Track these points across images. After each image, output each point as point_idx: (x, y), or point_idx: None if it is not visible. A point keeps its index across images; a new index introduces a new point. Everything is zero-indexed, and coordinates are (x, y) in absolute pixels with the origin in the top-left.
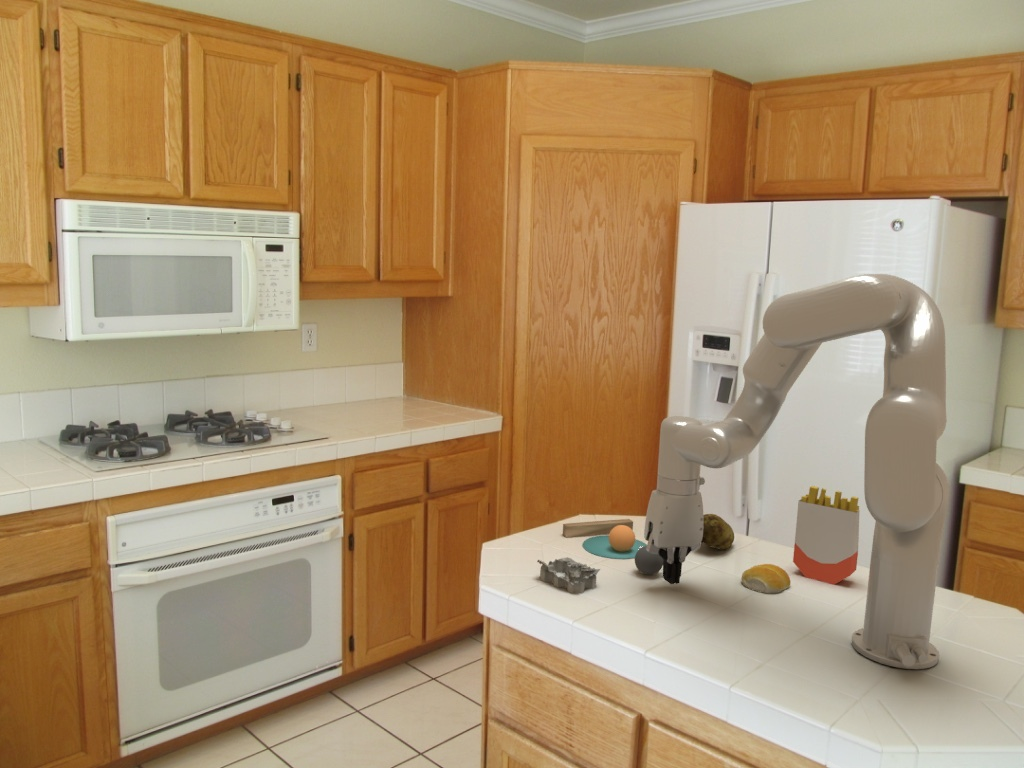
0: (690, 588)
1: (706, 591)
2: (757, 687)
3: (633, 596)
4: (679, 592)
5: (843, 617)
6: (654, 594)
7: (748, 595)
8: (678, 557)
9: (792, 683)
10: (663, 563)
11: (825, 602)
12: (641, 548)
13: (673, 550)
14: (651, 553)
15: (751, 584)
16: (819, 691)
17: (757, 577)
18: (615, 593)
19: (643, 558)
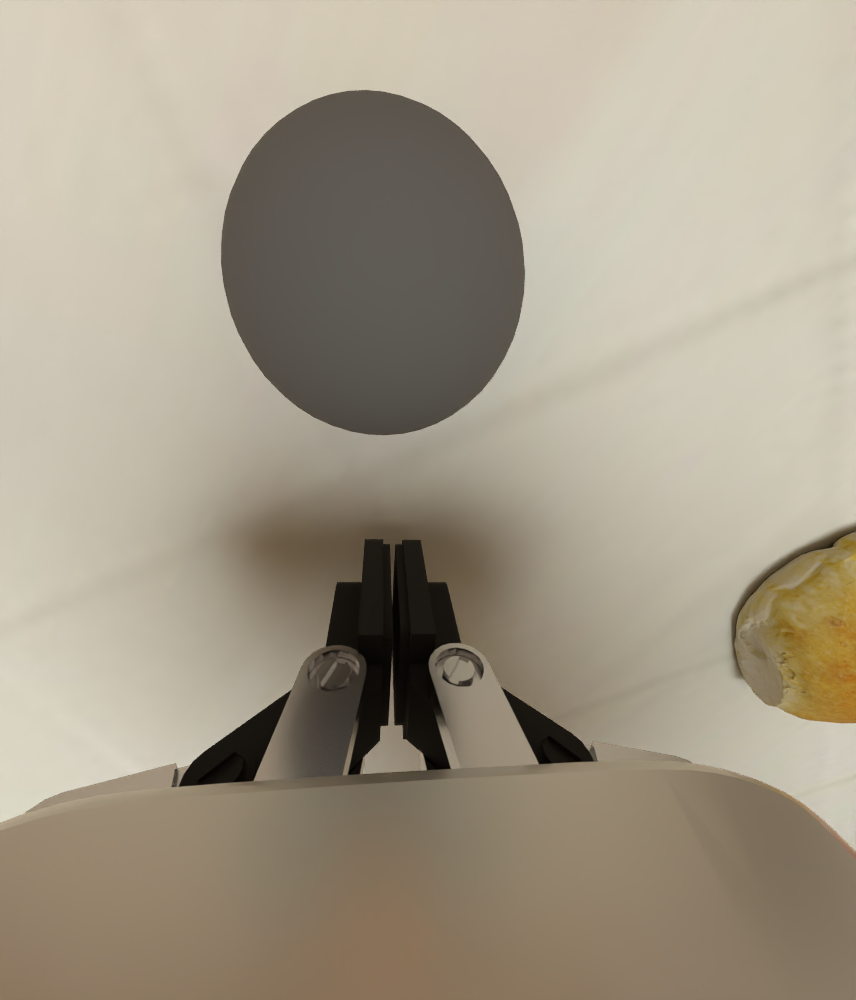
0: (495, 569)
1: (541, 613)
2: None
3: (130, 587)
4: None
5: None
6: (264, 589)
7: (668, 674)
8: (423, 756)
9: None
10: (326, 645)
11: (831, 751)
12: (274, 211)
13: (439, 717)
14: (342, 400)
15: (755, 646)
16: None
17: (797, 692)
18: (20, 531)
19: (262, 370)
